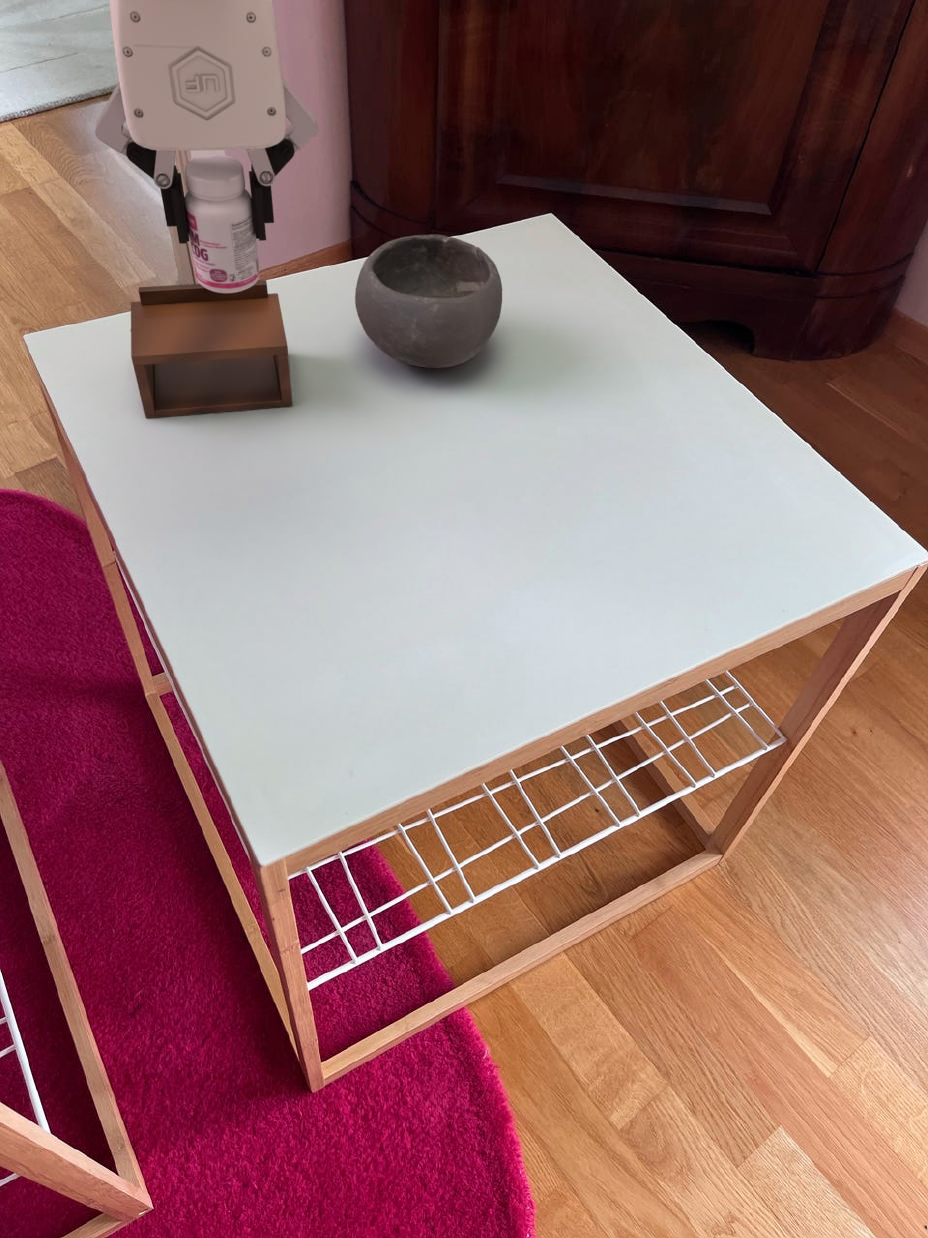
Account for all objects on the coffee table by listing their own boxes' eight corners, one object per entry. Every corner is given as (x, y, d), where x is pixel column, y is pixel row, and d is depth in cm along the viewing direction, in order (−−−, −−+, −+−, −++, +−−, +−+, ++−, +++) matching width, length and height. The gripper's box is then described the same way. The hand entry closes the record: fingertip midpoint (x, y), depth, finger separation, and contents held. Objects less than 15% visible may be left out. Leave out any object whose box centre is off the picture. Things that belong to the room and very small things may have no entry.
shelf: (145, 418, 91) (127, 341, 84) (144, 363, 96) (127, 287, 90) (292, 406, 94) (286, 331, 87) (283, 353, 99) (276, 278, 93)
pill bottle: (182, 282, 71) (163, 169, 65) (222, 255, 74) (207, 144, 68) (234, 302, 70) (219, 189, 64) (272, 274, 73) (262, 163, 66)
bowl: (383, 301, 107) (383, 215, 99) (510, 329, 105) (521, 244, 97) (335, 374, 97) (331, 286, 90) (474, 407, 95) (483, 319, 88)
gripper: (24, -47, 52) (99, 264, 65) (337, -42, 55) (345, 254, 69) (34, -88, 56) (102, 211, 70) (322, -81, 59) (332, 204, 73)
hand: (222, 230), depth 69 cm, fingers closed on pill bottle, 4 cm apart
